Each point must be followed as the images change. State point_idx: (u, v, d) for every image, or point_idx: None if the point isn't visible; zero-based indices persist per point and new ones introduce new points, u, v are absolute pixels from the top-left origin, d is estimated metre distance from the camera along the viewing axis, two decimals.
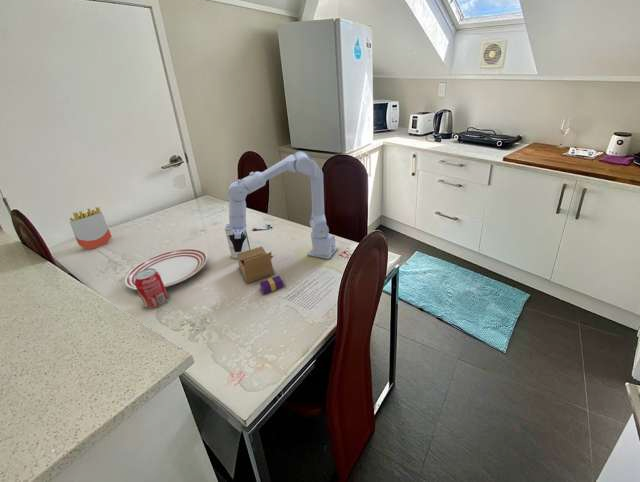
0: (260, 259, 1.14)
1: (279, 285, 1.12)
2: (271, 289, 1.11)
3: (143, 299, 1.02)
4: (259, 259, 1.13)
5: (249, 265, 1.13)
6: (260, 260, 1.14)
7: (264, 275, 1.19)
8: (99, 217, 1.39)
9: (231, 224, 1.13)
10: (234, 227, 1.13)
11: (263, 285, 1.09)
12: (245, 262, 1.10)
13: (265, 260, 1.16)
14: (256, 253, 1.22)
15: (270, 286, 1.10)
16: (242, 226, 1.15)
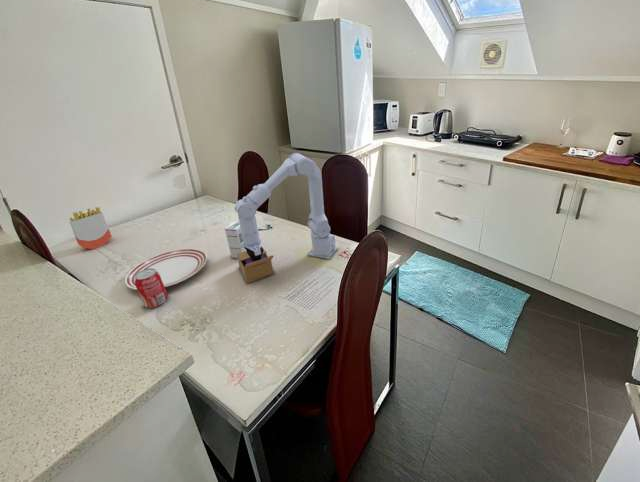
0: (261, 261, 1.13)
1: None
2: None
3: (143, 299, 1.02)
4: (260, 261, 1.13)
5: (249, 266, 1.13)
6: (261, 262, 1.14)
7: (264, 275, 1.19)
8: (99, 217, 1.39)
9: (246, 242, 1.12)
10: (250, 244, 1.12)
11: (248, 263, 1.16)
12: (246, 265, 1.09)
13: (265, 261, 1.16)
14: None
15: None
16: (257, 241, 1.13)
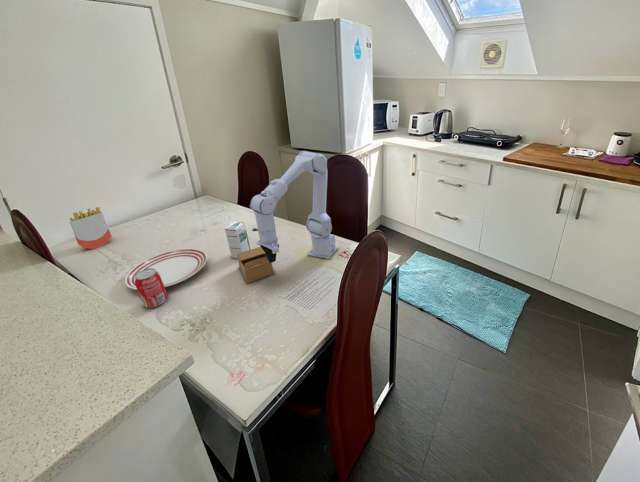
0: (261, 261, 1.13)
1: None
2: None
3: (143, 299, 1.02)
4: (260, 261, 1.13)
5: (249, 266, 1.13)
6: (260, 261, 1.14)
7: (264, 275, 1.19)
8: (99, 217, 1.39)
9: (263, 240, 1.06)
10: (267, 242, 1.06)
11: None
12: (246, 264, 1.09)
13: (265, 261, 1.16)
14: (256, 253, 1.22)
15: None
16: (275, 239, 1.08)
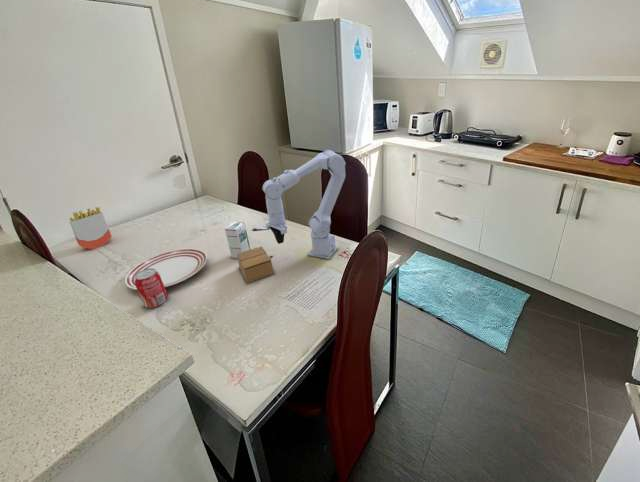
0: (257, 259, 1.18)
1: None
2: None
3: (143, 299, 1.02)
4: (256, 259, 1.18)
5: (248, 264, 1.15)
6: (258, 260, 1.18)
7: (264, 275, 1.19)
8: (99, 217, 1.39)
9: (273, 222, 1.16)
10: (276, 224, 1.17)
11: None
12: (242, 262, 1.17)
13: (264, 259, 1.18)
14: (256, 253, 1.22)
15: None
16: (283, 221, 1.18)
